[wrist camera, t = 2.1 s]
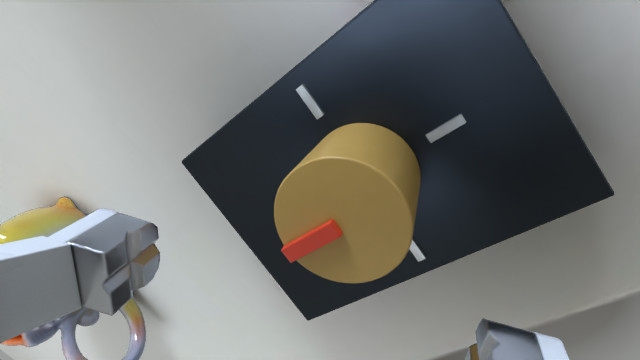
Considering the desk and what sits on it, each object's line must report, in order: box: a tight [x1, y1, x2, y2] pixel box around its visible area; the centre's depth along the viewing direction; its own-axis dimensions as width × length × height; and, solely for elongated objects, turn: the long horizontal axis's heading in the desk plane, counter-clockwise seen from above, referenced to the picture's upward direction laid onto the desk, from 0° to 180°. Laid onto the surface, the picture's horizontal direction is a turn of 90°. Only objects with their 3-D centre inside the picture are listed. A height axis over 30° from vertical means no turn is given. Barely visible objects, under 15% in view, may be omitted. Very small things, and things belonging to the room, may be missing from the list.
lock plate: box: [182, 0, 614, 320], centre depth 16 cm, size 14×10×3 cm
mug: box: [0, 197, 146, 360], centre depth 24 cm, size 12×7×7 cm, turn 43°
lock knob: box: [274, 123, 421, 283], centre depth 13 cm, size 4×4×4 cm
